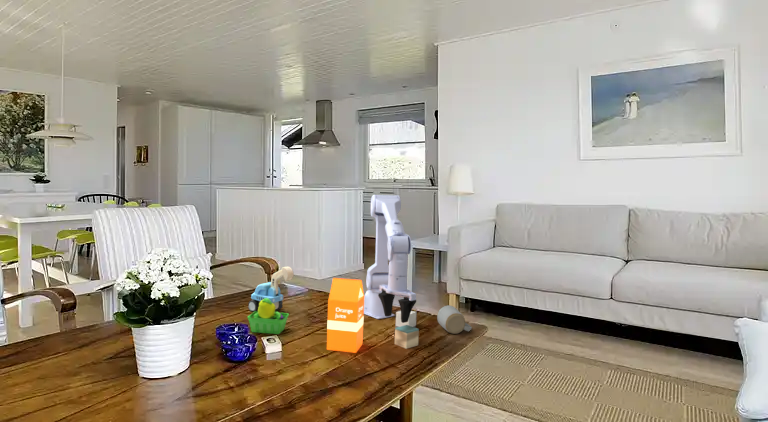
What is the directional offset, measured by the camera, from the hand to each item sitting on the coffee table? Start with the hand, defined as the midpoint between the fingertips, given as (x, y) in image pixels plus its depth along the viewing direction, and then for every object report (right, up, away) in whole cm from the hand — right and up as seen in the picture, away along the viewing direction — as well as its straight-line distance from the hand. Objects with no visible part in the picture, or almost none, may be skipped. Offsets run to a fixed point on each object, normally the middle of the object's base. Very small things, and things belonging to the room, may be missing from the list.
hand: (396, 318), depth 144 cm
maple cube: (+3, -2, -3) cm, 5 cm away
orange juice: (-15, -7, -7) cm, 18 cm away
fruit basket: (-40, -5, +4) cm, 41 cm away
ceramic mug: (+20, -7, +12) cm, 24 cm away
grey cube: (+4, -6, +14) cm, 16 cm away
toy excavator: (-44, -4, +26) cm, 52 cm away
